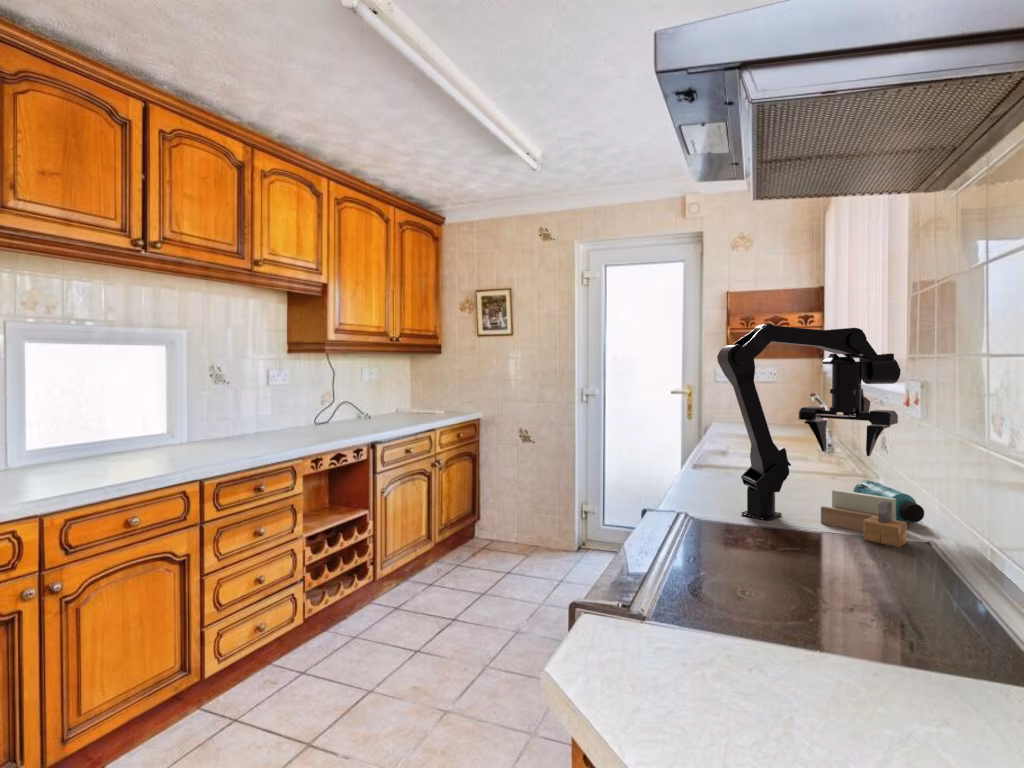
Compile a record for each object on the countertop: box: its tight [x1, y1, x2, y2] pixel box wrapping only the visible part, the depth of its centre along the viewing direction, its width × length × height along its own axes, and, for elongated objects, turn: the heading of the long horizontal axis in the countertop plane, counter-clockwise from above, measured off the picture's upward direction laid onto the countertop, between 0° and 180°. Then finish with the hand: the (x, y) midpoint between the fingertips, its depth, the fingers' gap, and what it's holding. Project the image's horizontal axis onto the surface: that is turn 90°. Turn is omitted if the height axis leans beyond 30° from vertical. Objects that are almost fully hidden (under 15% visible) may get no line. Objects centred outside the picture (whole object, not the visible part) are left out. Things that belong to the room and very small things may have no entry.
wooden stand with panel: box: [820, 489, 896, 533], centre depth 123 cm, size 8×12×6 cm, turn 38°
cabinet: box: [863, 501, 908, 548], centre depth 112 cm, size 4×6×8 cm
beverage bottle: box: [852, 480, 925, 523], centre depth 130 cm, size 6×7×20 cm
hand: (845, 453), depth 132 cm, fingers open, 9 cm apart
